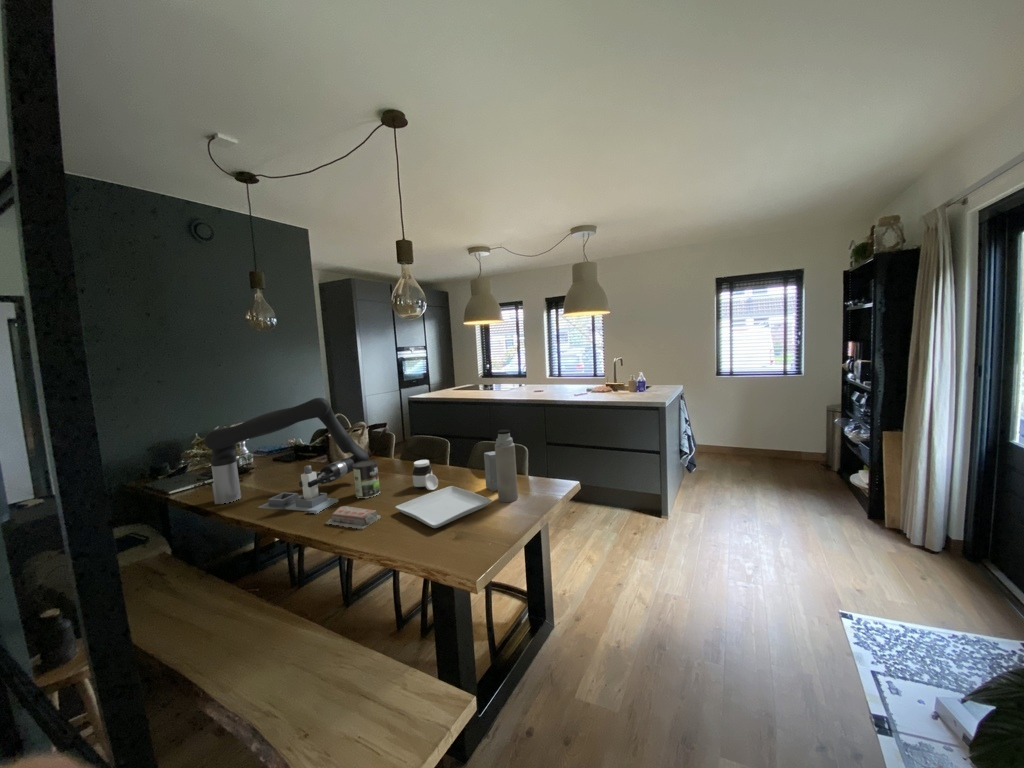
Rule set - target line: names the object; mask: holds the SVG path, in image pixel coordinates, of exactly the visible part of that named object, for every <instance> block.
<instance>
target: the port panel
mask: <svg viewBox="0 0 1024 768" xmlns="http://www.w3.org/2000/svg"><path fill="white" fill-rule="evenodd" d="M301 496H302V497H300V498H298V499H296V500H295V502H296V503H294V504H292V505H290V506H288V507H286V508H285V509H284V510H289V511H292V510H293V511H300V512H301V511H304V512H306V514H310V513H314V515H318V514H320V513H321V512H320V511H322V510H323V509H325V508H327V507H329V506H330V505H332V504H334V503H336V502H338V503H339V498H332V497H329V498H328V492H319V496H318V497H316V498H314V499H312V500H311V499H304V496H303V495H301ZM336 504H337V503H336ZM334 505H335V504H334ZM329 508H330V507H329ZM327 509H328V508H327ZM325 510H326V509H325ZM319 512H320V513H319ZM322 512H323V511H322ZM317 513H318V514H317Z"/></svg>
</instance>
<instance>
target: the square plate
mask: <svg viewBox="0 0 1024 768" xmlns="http://www.w3.org/2000/svg"><path fill="white" fill-rule="evenodd" d="M492 501H493V499H490V498H488V497H486V496H483V495H481V494H478V493H475V492H473V491H469V490H466V489H464V488H459V487H457V486H453V485H450V486H447V487H443V488H441V489H438V490H435V491H434V490H433V491H432V492H429V493H426V494H424V495H421V496H418V497H415V498H413V499H410V500H409V501H405V502H403V503H400V504H398V505H396V506H394V509H396V510H398V511H399V512H401V513H402V514H403V515H406V516H408V517H411V518H413V519H415V520H417V521H419V522H421V523H423V524H425V525H426V526H428V527H431V528H433V529H437V528H440V527H443V526H445V525H447V524H449V523H451V522H454V521H456V520H458V519H460V518H463V517H465V516H467V515H469V514H472V513H474V512H476V511H479V510H481V509H484V508H485V507H486V506H488V505H489V504H490V503H491V502H492Z"/></svg>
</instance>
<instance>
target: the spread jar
mask: <svg viewBox="0 0 1024 768" xmlns="http://www.w3.org/2000/svg"><path fill="white" fill-rule="evenodd" d="M411 477H412V484H413V487H414V489H416V490H420V491H421V490H426V489H427V491H434V490H436V489H437V488H438V486H439V480H438V477H437V476H436V475H435V474H433V469H432V466H431V465H430V460H429V459H420V460H416V461H414V462H413V469H412V476H411Z"/></svg>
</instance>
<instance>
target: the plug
mask: <svg viewBox="0 0 1024 768" xmlns="http://www.w3.org/2000/svg"><path fill="white" fill-rule="evenodd" d="M303 467H304V468H303V469H304V473H301V474H300V478H301V480H300V481H302V486H303V487H301V488H302V494H303V495H302V496H304V499H311V500H312V499H314V498H316V497H318V496H319V493H320V492H319V485H315V486H312V487H308V482H310V481H312V480H315V479H316V478H317V475H316V473H317V471H313V470H312V465H310V464H308V465H305V466H303Z"/></svg>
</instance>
